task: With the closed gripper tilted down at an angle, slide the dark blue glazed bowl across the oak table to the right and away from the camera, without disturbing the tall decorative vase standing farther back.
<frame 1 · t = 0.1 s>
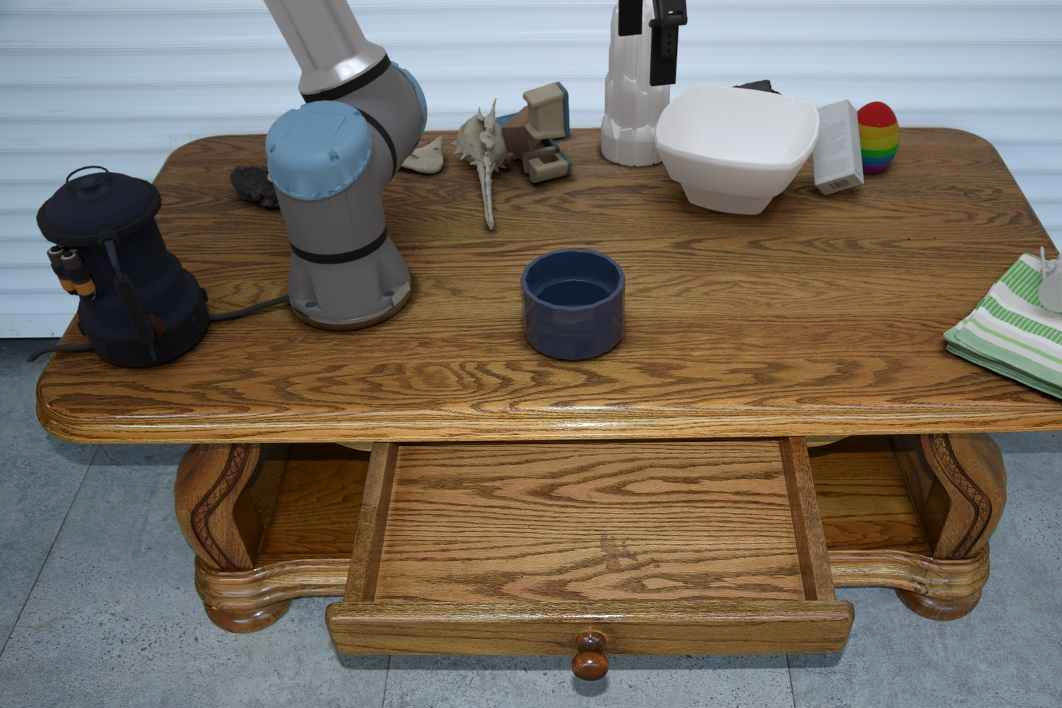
hand: (645, 58, 105), 28 cm above the table, tool pointing down, fingers open, 13 cm apart
dark blue bag: (112, 225, 112), point 11 cm above the table
decorative egg: (865, 165, 144), on the table, touching cosmetic box
rock 2: (750, 85, 154), point 5 cm above the table
fossil: (409, 164, 145), on the table
bowl: (730, 197, 137), on the table, touching cosmetic box
glazed bowl: (574, 331, 115), on the table
rock: (281, 200, 137), on the table
decorative vase: (635, 150, 148), on the table
dish towel: (1046, 332, 114), on the table, touching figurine
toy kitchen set: (510, 121, 140), point 7 cm above the table, touching wooden block
wooden block: (514, 140, 137), point 6 cm above the table, touching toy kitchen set
seashell: (485, 186, 140), on the table
cosmetic box: (839, 186, 135), point 2 cm above the table, touching bowl, decorative egg
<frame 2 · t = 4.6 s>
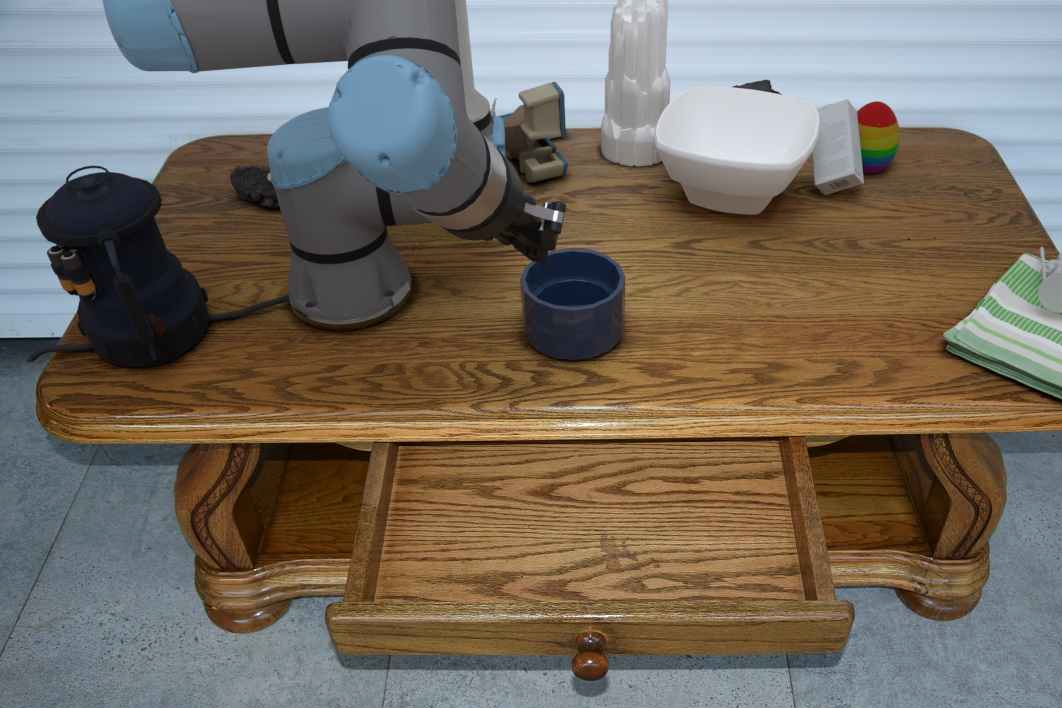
hand: (541, 249, 96), 18 cm above the table, tool tilted 45°, fingers closed
nothing on the table moved.
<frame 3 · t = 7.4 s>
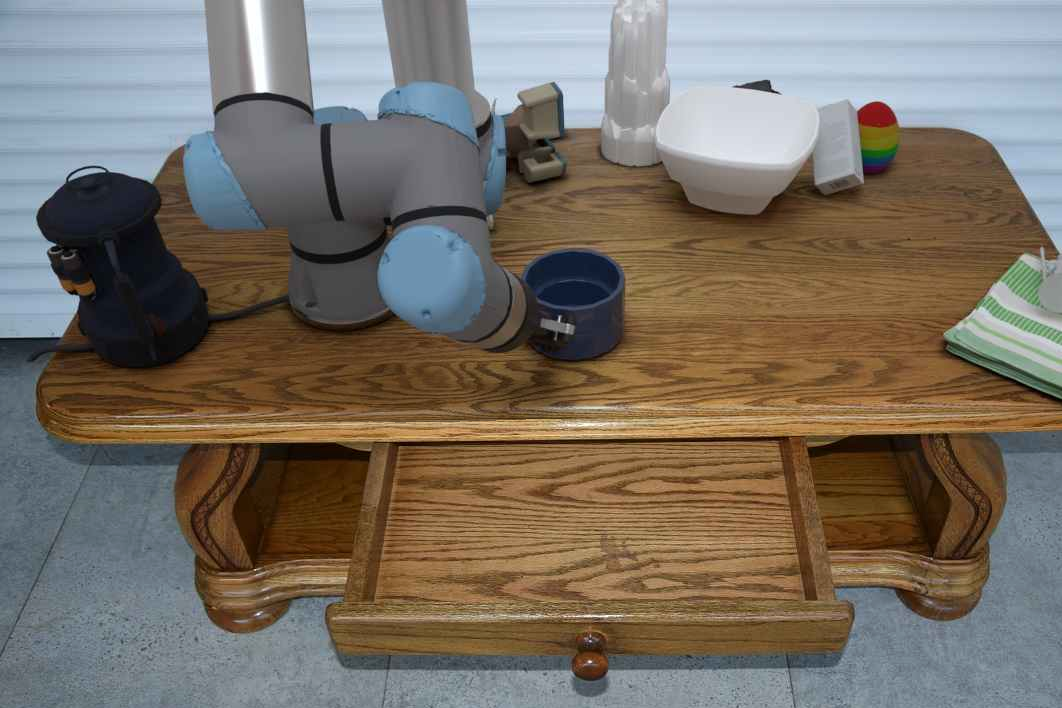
hand: (554, 340, 106), 4 cm above the table, tool tilted 45°, fingers closed
glazed bowl: (574, 331, 115), on the table, touching gripper
wooden block: (513, 139, 137), point 6 cm above the table, touching seashell, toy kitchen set
seashell: (485, 186, 140), on the table, touching wooden block
everything else where it was.
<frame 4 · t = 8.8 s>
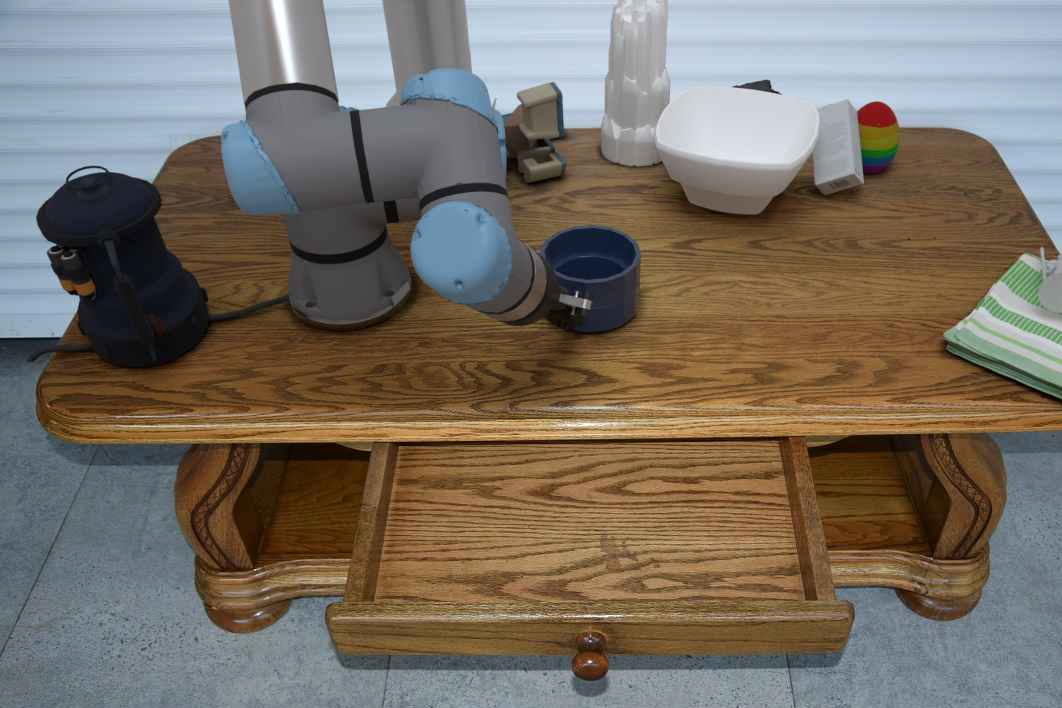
hand: (569, 317, 111), 4 cm above the table, tool tilted 45°, fingers closed
glazed bowl: (590, 305, 118), on the table, touching gripper
everything else where it was.
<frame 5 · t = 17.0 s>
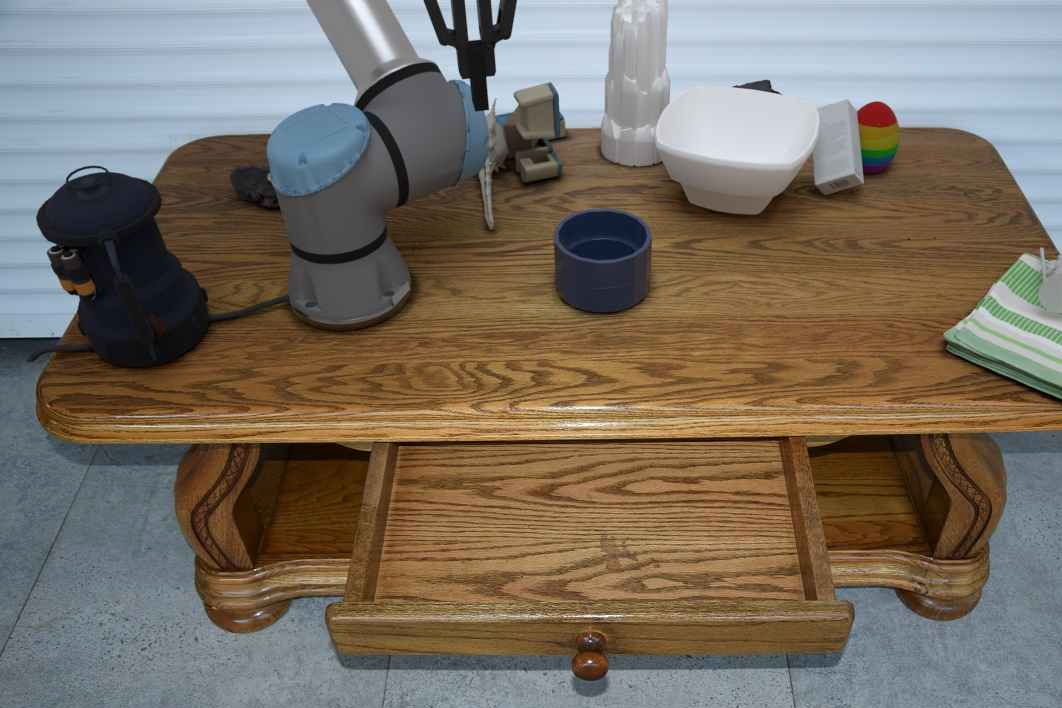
hand: (480, 105, 101), 26 cm above the table, tool pointing down, fingers closed
glazed bowl: (602, 287, 121), on the table
wooden block: (517, 138, 137), point 6 cm above the table, touching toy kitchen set
seashell: (485, 186, 140), on the table
everything else where it was.
at the end: glazed bowl 1.4 cm from the target spot, on the table; glazed bowl tilted 0°; decorative vase moved 0.2 cm from its start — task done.
